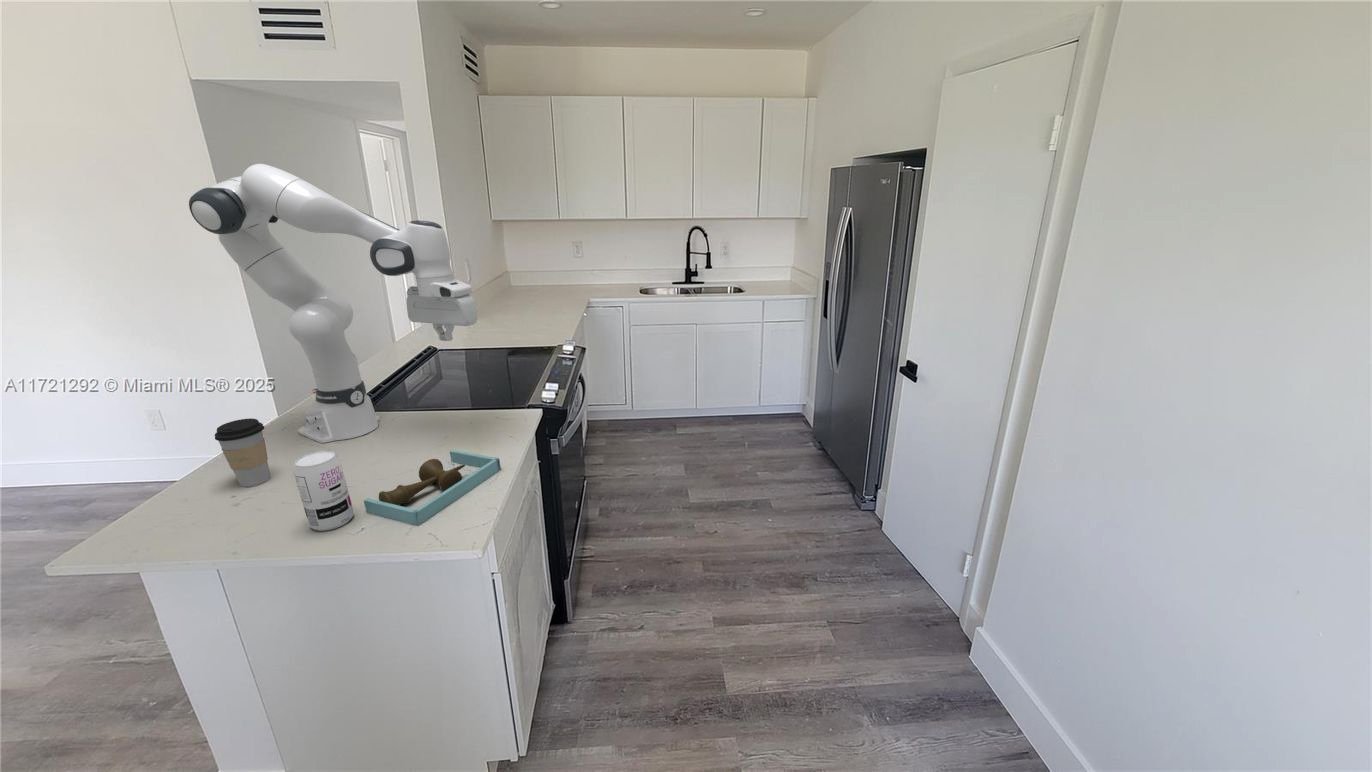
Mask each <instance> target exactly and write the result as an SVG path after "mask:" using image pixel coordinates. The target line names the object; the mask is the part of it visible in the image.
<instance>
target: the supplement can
mask: <svg viewBox="0 0 1372 772" xmlns="http://www.w3.org/2000/svg"><path fill="white" fill-rule="evenodd" d="M292 470H293V471H292V473H293V476H294V480H295V481H296V485H297V489H298V492H299V495H300V499H301V502H302V505H303V510H304V513H305V516H306V519H307V522H308V526H309V528H311V529H312V530H315V531H319V532H326V531H332V530H335V529H338V528H340V527H342V526H344V525H346V524H348V522H349V521H351V519H352V518H353V516H354V515H355V512H354V508H353V504H352V499H351V496H350V493H349V490H348V484H347V480H346V477H345V474H344V470H343V467H342V463H341V459H340V457H339V456H338V455H336V453H335V452H334V451H333V450H332V451H331V450H321V451H315V452H311V453H307V454H305V455H302V456H300V457H299V458H297V459H296V460H295V461H294V466H293V469H292Z"/></svg>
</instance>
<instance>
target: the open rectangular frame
mask: <svg viewBox="0 0 1372 772" xmlns="http://www.w3.org/2000/svg"><path fill="white" fill-rule="evenodd" d="M449 457H450V460H451V463H454V464H455V463H456V464H459V465H465V466H470V467H475V468H478V469H477V470H475V471H474V472H472V473H470V474H468V475H467V476H466V477H464V478H462V480H461V481H460V482H458V483H456V484H455V485H453V486H452V487H450V488H449V489H447V490H446V491H444V492H441V493H440V494H438V495H437V496H435V497H433V498H432V499H430V500H428V501H427V502H425V503H424V504H423V505H421V506H420V507H418V508H416V509H415V508H410V507H406V506H401V505H394V504H390V503H386V502H382V501H379V499H378V500H377V499H372V498H367V497H366V498H365V499H363V503H364V508H365V511H366V513H368V514H372V515H375V516H379V517H383V518H388V519H390V520H391V519H392V520H396V521H398V522H399V521H400V522H403V523H408V524H411V525H415V526H420V525H422V524H423V523H424V522H426V521H427V520H429V519H430V518H431V517H433V516H435V515H436V514H438V513H439V512H441V511H442V510H444V509H445V508H447V506H449V505H450V504H452V503H454V502H455V501H457V500H458V499H459V498H461V497H462V496H464V495H466V494H467V493H468V492H470V491H472V489H474V488H476V487H477V486H479V485H480V484H482V483H483V482H485V480H488V479H489V478H490V477H492V476H494V475H495V474H496V473H497V472H499V471H501V470H502V467H501V466H502V465H501V462H500V458H498V457H493V456H490V455H489V456H488V455H482V454H477V453H473V452H466V451H461V450H456V449H451V450H449Z"/></svg>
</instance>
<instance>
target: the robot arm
mask: <svg viewBox="0 0 1372 772" xmlns="http://www.w3.org/2000/svg"><path fill="white" fill-rule="evenodd" d="M188 208H189V211H190V214H191V215H192V217H193V219H194V220H195V222H196V223H197V224H198V225H199V226H200V227H201V228H203V229H204V230H206V231H207V232H210V233H212V234H216V235H218V237H217V238H218V241H219V242H220V244H221V245H222V247H223V248H224V250H225V251H226V252H227V254H228V255H229V256H230V257H231V259H232V260H233V261H234V262H235V263H236V265H237V266H238V267H240V269H241V270H242V271H243V272H244V273H245V274H246V275H247V277H249V278H250V279H251V280H252V281H253V282H254V283H255V284H256V285H257V286H258V287H259V288H260V289H262V290H263V292H264V293H265V294H266V295H268V297H270V298H272V299H273V300H277V301H278V302H280V303H282V304H283V305H285V306H287V307H288V308H289V309H291V310H292V311H294V312H293V313H292V315H291V317H290V319H289V321H288V330H289V332H290V334H291V336H292V337H293V338H294V339H295V340H296V341H297V342H299V345H300V346H301V348H302V350H303V351H304V353H305V356H306V357H307V360H308V361H309V365H310V367H311V369H312V373H313V377H314V382H315V385H316V388H315V389H312V390H311V391H312V394H315V401H314V402H313V403H312V405H311V406H309V407H308V409H307V410H306V411H305V412H304V421H305V425H304V424H303V426H301V427H300V428H298V429H297V433H298V434H300V435H301V436H304V437H307V438H308V439H311V440H313V441H315V442H318V443H320V444H326V443H329V442H335V441H341V440H343V441H344V440H348V439H353V438H358V437H361V436H364V435H366V434H369V433H371V432H372V431H374V430H376V429H377V428H378V426H379V421H380V420H381V419H380V415H377V414H376V412H375V408H374V406H373V402H372V400H371V398H370V396H369V395H368V394H366V393H367V391H366V390H367V389H366V385H365V383H364V380H362V377H361V373H360V368H359V364H358V361H357V360H358V359H357V357H356V355H355V353H354V352H353V351H352V349H351V347H350V345H349V343H348V341H347V338H346V336H345V331H346V330H347V329H348V328H349V327H350V325H352V322H353V318H354V310H353V307H352V305H351V304H350V302H348V300H346V299H345V298H343V297H341V296H339V295H338V294H336V293H335V292H333V290H331V289H330V288H329V287H327V286H326V285H325V284H323V283H322V282H321V281H319V280H318V279H317V278H315V277H314V276H313V275H312V274H311V272H310V273H309V272H308V271H307V270H306V269H305V267H303V266H302V264H301V263H299V261H298V260H297V259H296V258H295V257H294V256H293V255H292V254H291V253H290V252H289V251H288V250H287V249H286V248H285V247H284V246H283V245H282V244H281V243H280V241H278V240H277V239H276V238H275V237H274V236H273V234H271V232H270V230H269V223H270V224H277V223H278V221H279V220H281V221H282V222H284V223H286V224H288V225H290V226H293V227H295V228H298V229H300V230H303V231H306V232H310V233H314V234H315V233H318V234H319V233H320V234H321V233H322V234H340V235H342V234H343V235H349V236H354V237H357V238H359V239H361V240H364V241H366V242H368V243H370V244H372V245H371V247H370V249H369V258H370V261H371V263H372V265H373V266H374V268H375V269H376V270H377V271H378V272H379V273H381V274H382V275H385V276H391V277H399V276H404V275H408V274H410V273H412V274H413V275H414V277H415V282H416V286H415V285H413V286H409V288H408V289H407V290H406V296H407V297H406V310H407V317H408V319H409V321H411V322H412V323H419V324H420V323H421V324H422V323H423V324H432V328H433V329H434V331H435V332H436V334H437V335H438V339H439V341H445V342H451V341H452V340H454V339H453V332H454V329H455V326H456V327H457V326H458V327H459V326H460V327H469V326H473V325H475V324H476V323H477V322H478V313H477V312H478V311H477V307H476V303H475V300H474V298H473V296H472V295H470V294H472V293H473V288H472V286H471V285H470V284H468V283H466V282H463V281H461V280H459V279H457V278H455V275H454V272H453V269H452V268H451V267H452V266H451V252H450V251H451V250H450V248H449V243H448V238H447V234H446V233H445V230H444V229H443V227H442V226H441V225H440V224H439V223H437V222H435V221H428V220H410V221H409V222H408V223H407V224H406V225H405V226H404V227H403V228H401V229H399V228H396V227H395V226H392V225H390V224H388V223H386V222H384V221H382V220H380V219H378V218H376V217H374V216H372V215H370V214H368V213H365V212H363V211H361V210H359V209H357V208H354V207H353V206H351V205H349V204H347V203H346V202H344V201H342V200H340V199H338V198H336V197H334V196H332V195H331V194H329V193H328V192H326V191H324V190H322V189H321V188H319V187H318V186H315V185H314V184H311V183H310V182H308V181H306V180H304V179H302V178H300V177H299V176H296V175H295V174H292V173H290V172H287V171H286V170H283V169H280V168H278V167H275V166H272V165H269V164H265V163H255V164H252V165H250V166H248V167H247V168H246V169H245V170H244V172H242V175H240V176H234V177H230V178H227V179H225V180H223V181H220V182H218V183H216V184H213V185H211V186H209V187H205V188H202V189H200V190H197V192H195V193H193V195H191V196H190V198H189V201H188ZM411 322H410V323H411ZM313 391H314V392H313Z"/></svg>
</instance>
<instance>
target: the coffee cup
mask: <svg viewBox="0 0 1372 772" xmlns="http://www.w3.org/2000/svg"><path fill="white" fill-rule="evenodd" d="M264 429H265V426H264V424H263V423H262V422H260V421H259V419H257V418H241V419H236V420H232V421H229V422H226V423H224V424H221V425H220V426H218V427H217V428H216V432H215V434H214V440H216V441H218V443H219V445H220V447H221V451H222V453H223V455H224V457H225V459H226V461H227V463H228V465H229V467H230V469H231V470H232V471H233V473H234V475H235V478H236V479H237V481H238V483H239V486H240V487H243V488H247V487H248V488H250V487H257V486H259V485H262V484H264V483H266V482H267V481H269V479H270V478H271V475H270V469H269V468H270V467H269V463H268V459H269V458H268V453H267V447H266V446H267V445H266V441H265V437H264V433H263V431H264Z"/></svg>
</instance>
